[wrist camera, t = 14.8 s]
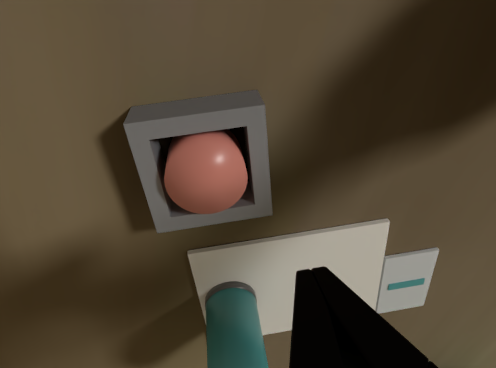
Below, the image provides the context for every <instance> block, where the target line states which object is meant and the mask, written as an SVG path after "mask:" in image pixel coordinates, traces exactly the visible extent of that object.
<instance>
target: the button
mask: <svg viewBox="0 0 496 368" xmlns="http://www.w3.org/2000/svg"><path fill="white" fill-rule="evenodd" d="M247 180H248V176H247V170H246V166H245V162H244V158H243V154H242V150H241V147H240V144H239V142H238V140H237V138H236V137H235V135H234V134H233V133H232V132H231V131H229V130H228V129H223V130H216V131H209V132H202V133H195V134H188V135H181V136H174V137H173V139H172V140H171V143H170V145H169V148H168V155H167V161H166V168H165V175H164V183H165V188H166V191H167V193H168V195H169V196H170V198H171V199H172V200H173V201H174V202H175V203H176V204H177V205H178V206H180V207H181V208H183V209H185V210H187V211H190V212H193V213H198V214H213V213H218V212H221V211H224V210H226V209H228V208H229V207H231V206H233V205H234V204H235V203H236V202H237V201H238V200H239V199H240V198H241V197H242V195H243V193H244V191H245V189H246V186H247Z"/></svg>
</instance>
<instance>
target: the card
mask: <svg viewBox="0 0 496 368" xmlns="http://www.w3.org/2000/svg"><path fill="white" fill-rule="evenodd" d="M438 253H439V249H438V248H431V249H425V250H419V251H413V252H407V253H401V254H395V255H389V256H384V260H383V266H382V272H381V278H380V284H379V290H378V296H377V302H376V308H375V311H376V312H377V313H384V312H390V311H395V310H401V309H406V308H412V307H418V306H423V305H424V302H425V298H426V295H427V291H428V288H429V284H430V281H431V277H432V274H433V270H434V267H435V263H436V260H437V256H438Z"/></svg>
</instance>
